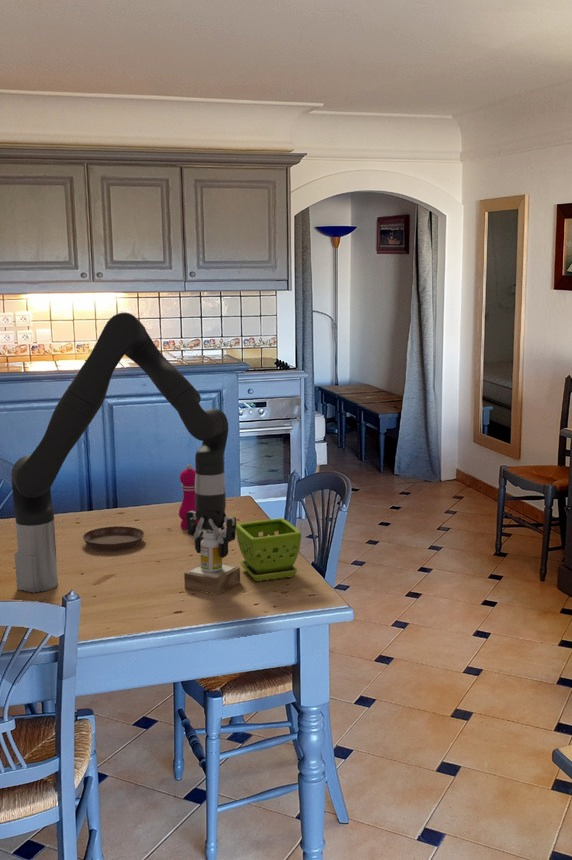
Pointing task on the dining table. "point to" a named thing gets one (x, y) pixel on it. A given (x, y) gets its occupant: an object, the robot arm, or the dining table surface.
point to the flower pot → (268, 548)
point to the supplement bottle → (210, 552)
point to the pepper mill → (187, 494)
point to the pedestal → (212, 579)
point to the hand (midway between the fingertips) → (211, 554)
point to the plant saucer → (113, 538)
